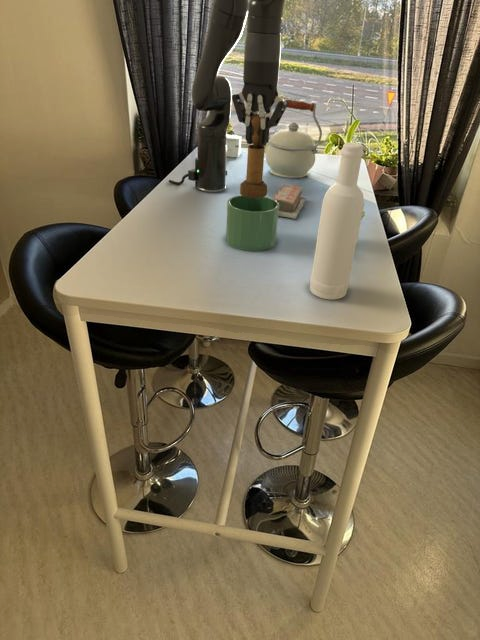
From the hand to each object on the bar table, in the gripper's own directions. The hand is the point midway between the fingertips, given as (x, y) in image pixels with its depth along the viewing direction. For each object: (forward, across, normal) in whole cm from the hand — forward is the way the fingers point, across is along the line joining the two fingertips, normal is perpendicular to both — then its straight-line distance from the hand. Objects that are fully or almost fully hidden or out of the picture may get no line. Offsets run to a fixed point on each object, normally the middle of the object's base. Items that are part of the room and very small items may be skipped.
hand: (256, 144), depth 105 cm
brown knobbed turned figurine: (+12, 0, 0) cm, 12 cm away
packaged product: (+24, +5, -28) cm, 37 cm away
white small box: (+24, +52, -70) cm, 90 cm away
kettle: (+24, +24, -63) cm, 72 cm away
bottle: (+24, -27, +12) cm, 38 cm away
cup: (+24, 0, 0) cm, 24 cm away
